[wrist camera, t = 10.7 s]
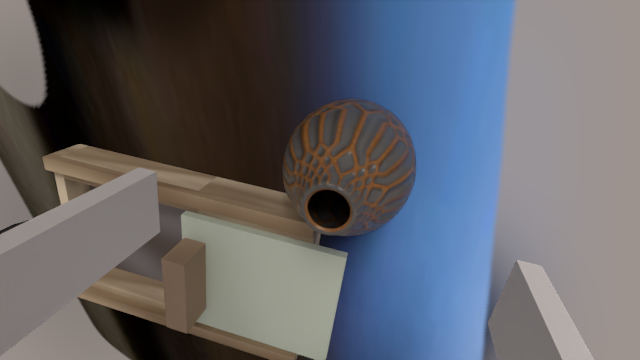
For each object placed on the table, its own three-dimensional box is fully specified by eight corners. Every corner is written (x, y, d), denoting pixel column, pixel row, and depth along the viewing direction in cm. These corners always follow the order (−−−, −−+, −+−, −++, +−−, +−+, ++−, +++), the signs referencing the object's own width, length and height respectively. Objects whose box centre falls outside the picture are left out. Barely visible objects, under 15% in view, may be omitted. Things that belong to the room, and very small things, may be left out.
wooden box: (79, 143, 27) (42, 156, 25) (325, 202, 24) (314, 225, 21) (102, 273, 33) (73, 295, 30) (304, 335, 30) (293, 367, 27)
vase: (349, 213, 24) (318, 302, 16) (285, 134, 23) (217, 189, 15) (439, 158, 21) (453, 235, 13) (370, 64, 20) (340, 88, 12)
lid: (186, 210, 24) (156, 234, 21) (347, 252, 22) (338, 285, 19) (190, 312, 28) (165, 343, 25) (326, 356, 26) (316, 394, 23)
